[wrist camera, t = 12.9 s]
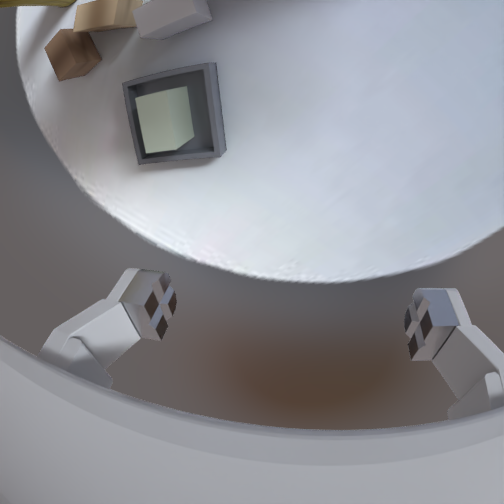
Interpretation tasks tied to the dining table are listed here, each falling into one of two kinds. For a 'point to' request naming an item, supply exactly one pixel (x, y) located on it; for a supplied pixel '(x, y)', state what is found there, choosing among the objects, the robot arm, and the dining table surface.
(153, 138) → the block sage
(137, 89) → the slate dish
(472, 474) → the robot arm
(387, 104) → the dining table surface
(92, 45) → the block walnut
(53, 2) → the vase
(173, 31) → the block grey
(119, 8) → the block oak
